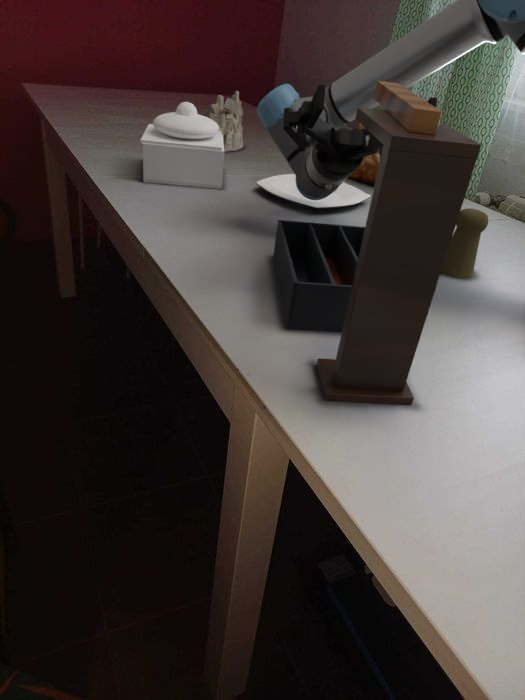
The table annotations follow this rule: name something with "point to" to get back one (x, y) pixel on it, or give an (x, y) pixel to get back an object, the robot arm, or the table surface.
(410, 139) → the shelf stand
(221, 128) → the miniature castle sculpture
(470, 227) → the cork
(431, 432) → the table surface
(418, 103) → the bar
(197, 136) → the butter dish
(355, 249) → the slot rack
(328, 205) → the plate
